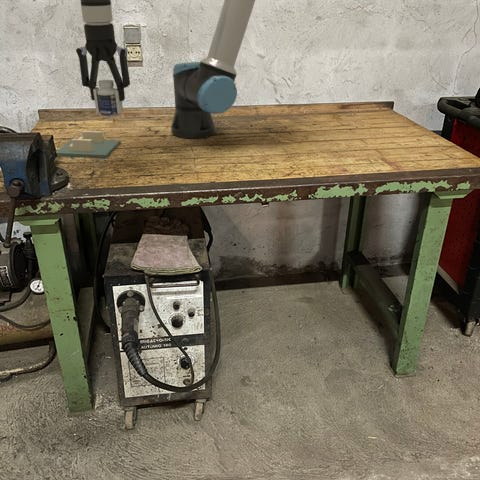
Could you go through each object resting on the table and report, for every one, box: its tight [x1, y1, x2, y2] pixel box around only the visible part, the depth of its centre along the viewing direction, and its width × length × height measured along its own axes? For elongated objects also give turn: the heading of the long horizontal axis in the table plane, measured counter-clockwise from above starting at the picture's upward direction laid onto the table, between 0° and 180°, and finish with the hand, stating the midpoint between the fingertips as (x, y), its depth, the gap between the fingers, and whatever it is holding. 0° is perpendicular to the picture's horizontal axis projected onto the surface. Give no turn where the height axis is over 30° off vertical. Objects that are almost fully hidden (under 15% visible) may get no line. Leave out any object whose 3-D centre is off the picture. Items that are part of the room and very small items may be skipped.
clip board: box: [55, 130, 122, 159], centre depth 155 cm, size 16×14×4 cm
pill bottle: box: [97, 79, 121, 119], centre depth 139 cm, size 5×5×10 cm
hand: (109, 111), depth 141 cm, fingers closed on pill bottle, 5 cm apart
